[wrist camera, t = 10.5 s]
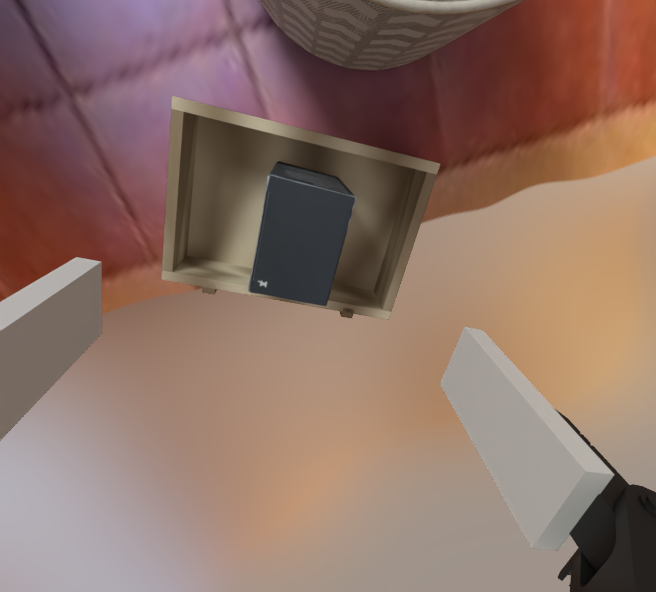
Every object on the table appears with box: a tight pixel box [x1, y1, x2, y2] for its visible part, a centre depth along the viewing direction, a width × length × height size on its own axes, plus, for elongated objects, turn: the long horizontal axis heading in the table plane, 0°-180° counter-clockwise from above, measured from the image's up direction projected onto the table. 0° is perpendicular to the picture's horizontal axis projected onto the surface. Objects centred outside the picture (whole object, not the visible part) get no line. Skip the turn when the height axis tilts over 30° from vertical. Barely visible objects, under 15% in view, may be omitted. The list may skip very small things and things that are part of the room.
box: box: [248, 161, 356, 306], centre depth 28 cm, size 8×6×11 cm
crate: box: [162, 96, 440, 320], centre depth 32 cm, size 20×14×6 cm
